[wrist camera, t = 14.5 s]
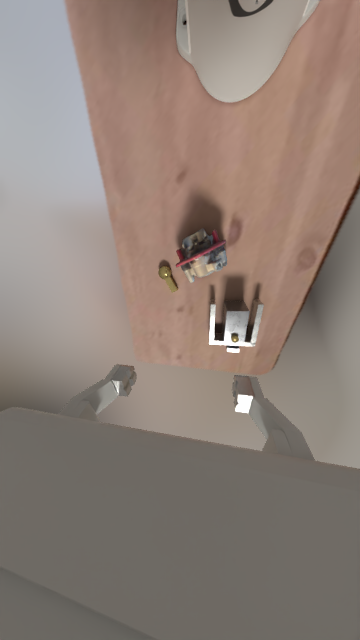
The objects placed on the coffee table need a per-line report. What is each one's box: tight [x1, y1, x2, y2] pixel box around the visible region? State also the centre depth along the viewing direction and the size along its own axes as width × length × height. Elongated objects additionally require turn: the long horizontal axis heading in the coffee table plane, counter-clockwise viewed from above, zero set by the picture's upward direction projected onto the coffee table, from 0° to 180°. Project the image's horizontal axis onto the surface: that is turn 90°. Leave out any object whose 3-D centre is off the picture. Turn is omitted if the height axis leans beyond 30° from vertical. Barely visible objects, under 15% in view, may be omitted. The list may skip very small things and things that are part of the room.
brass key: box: [159, 266, 178, 293], centre depth 39 cm, size 7×3×2 cm, turn 29°
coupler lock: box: [222, 301, 250, 346], centre depth 38 cm, size 10×5×8 cm, turn 4°
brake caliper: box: [176, 228, 227, 283], centre depth 32 cm, size 11×11×12 cm
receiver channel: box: [209, 299, 264, 352], centre depth 39 cm, size 13×12×7 cm
